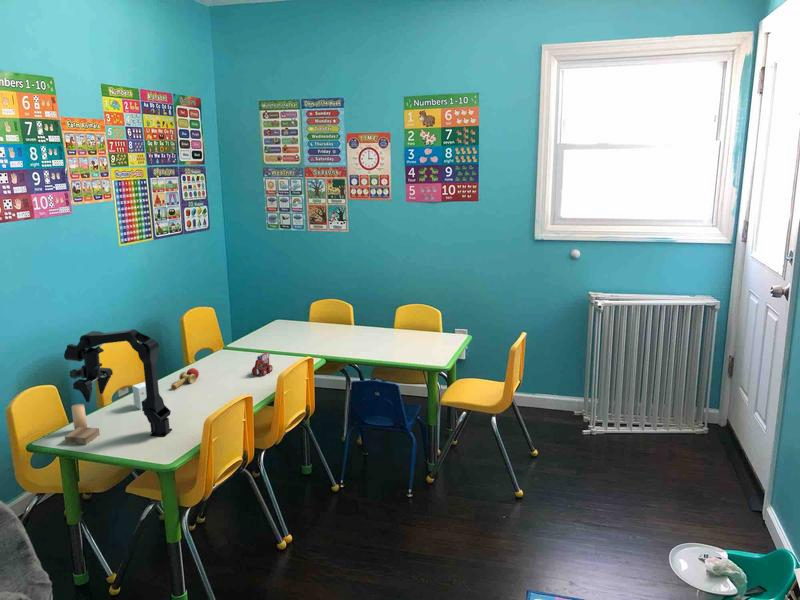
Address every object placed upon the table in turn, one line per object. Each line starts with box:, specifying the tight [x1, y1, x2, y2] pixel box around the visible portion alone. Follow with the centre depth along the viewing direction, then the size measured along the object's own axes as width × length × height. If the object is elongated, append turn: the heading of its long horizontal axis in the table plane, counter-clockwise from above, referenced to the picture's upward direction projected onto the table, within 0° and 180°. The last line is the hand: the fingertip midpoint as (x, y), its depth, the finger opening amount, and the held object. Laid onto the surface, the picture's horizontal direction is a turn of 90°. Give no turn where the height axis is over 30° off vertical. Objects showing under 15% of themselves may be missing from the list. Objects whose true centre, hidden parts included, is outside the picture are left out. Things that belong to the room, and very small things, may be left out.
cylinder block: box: [71, 403, 88, 430], centre depth 266 cm, size 5×5×11 cm
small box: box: [131, 381, 146, 410], centre depth 291 cm, size 8×6×10 cm
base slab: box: [64, 427, 101, 445], centre depth 258 cm, size 9×9×3 cm
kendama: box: [170, 367, 200, 391], centre depth 318 cm, size 8×6×18 cm
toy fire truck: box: [251, 351, 273, 377], centre depth 331 cm, size 7×12×10 cm, turn 157°
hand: (94, 397), depth 264 cm, fingers open, 9 cm apart
